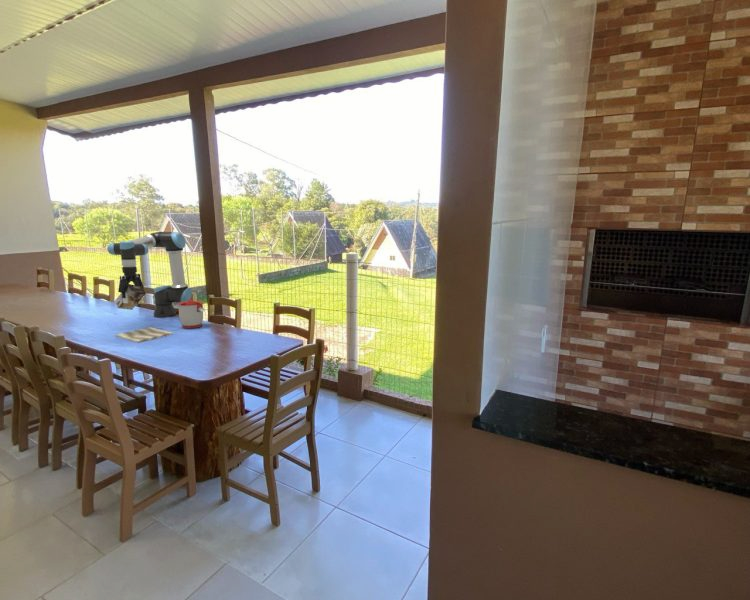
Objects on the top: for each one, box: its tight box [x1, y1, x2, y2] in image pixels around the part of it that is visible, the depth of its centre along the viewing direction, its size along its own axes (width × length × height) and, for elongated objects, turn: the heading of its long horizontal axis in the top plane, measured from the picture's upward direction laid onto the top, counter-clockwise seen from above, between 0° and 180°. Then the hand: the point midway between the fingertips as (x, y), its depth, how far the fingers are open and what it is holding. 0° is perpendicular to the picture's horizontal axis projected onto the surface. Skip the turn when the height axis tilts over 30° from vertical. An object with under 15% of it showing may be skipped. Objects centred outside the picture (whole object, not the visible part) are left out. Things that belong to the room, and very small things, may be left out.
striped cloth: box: [115, 327, 174, 343], centre depth 239 cm, size 22×24×1 cm
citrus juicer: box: [177, 298, 205, 329], centre depth 260 cm, size 16×17×20 cm
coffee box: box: [114, 283, 147, 311], centre depth 236 cm, size 9×6×16 cm
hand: (132, 301), depth 236 cm, fingers closed on coffee box, 10 cm apart
